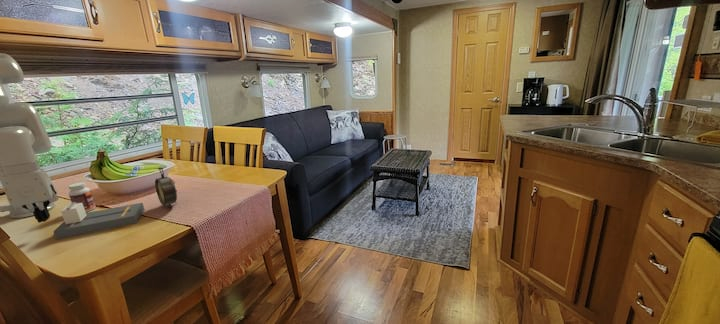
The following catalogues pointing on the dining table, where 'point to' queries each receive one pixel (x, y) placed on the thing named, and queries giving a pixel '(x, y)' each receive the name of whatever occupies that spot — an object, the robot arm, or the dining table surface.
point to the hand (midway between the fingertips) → (44, 220)
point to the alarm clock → (165, 190)
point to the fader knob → (73, 213)
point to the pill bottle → (82, 195)
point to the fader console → (101, 221)
